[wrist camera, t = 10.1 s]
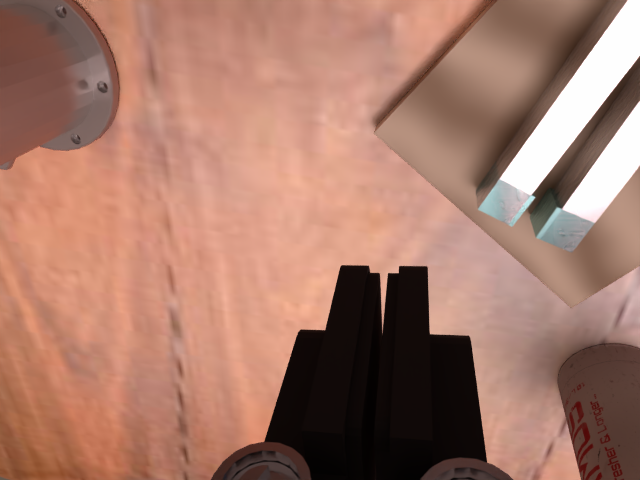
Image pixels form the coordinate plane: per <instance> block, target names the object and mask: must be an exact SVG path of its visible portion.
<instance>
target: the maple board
mask: <svg viewBox="0 0 640 480" xmlns="http://www.w3.org/2000/svg"><path fill="white" fill-rule="evenodd" d="M607 1H608V0H493V1H492V2H491V3H490V4H489V5H488V6H487V7H486V8H485V10H484V11H483V12H482V13H481V14H480V15H479V16H478V17H477V18H476V19H475V20H474V21H473V23H472V24H471V25H470V26H469V27H468V28H467V29H466V30H465V31H464V32H463V33H462V34H461V35H460V37H459V38H458V39H457V40H456V41H455V42H454V43H453V44H452V45H451V46H450V47H449V48H448V50H447V51H446V52H445V53H444V54H443V55H442V56H441V57H440V58H439V59H438V60H437V61H436V62H435V64H434V65H433V66H432V67H431V68H430V69H429V70H428V71H427V72H426V73H425V74H424V75H423V77H422V78H421V79H420V80H419V81H418V82H417V83H416V84H415V85H414V86H413V87H412V88H411V89H410V91H409V92H408V93H407V94H406V95H405V96H404V97H403V98H402V99H401V100H400V101H399V102H398V103H397V105H396V106H395V107H394V108H393V109H392V110H391V111H390V112H389V113H388V114H387V115H386V116H385V118H384V119H383V120H382V121H381V122H380V123H379V124H378V125H377V126H376V129H375V131H374V134H375V135H376V136H377V137H378V138H379V139H381V140H382V141H383V142H384V143H385V144H386V145H387V146H388V147H390V148H391V149H392V150H393V151H394V152H395V153H396V154H397V155H399V156H400V157H401V158H402V159H403V160H404V161H405V162H407V163H408V164H409V165H410V166H411V167H412V168H413V169H414V170H416V171H417V172H418V173H419V174H420V175H421V176H422V177H423V178H425V179H426V180H427V181H428V182H429V183H430V184H431V185H433V186H434V187H435V188H436V189H437V190H438V191H439V192H440V193H442V194H443V195H444V196H445V197H446V198H447V199H448V200H449V201H451V202H452V203H453V204H454V205H455V206H456V207H457V208H459V209H460V210H461V211H462V212H463V213H464V214H465V215H466V216H468V217H469V218H470V219H471V220H472V221H473V222H474V223H476V224H477V225H478V226H479V227H480V228H481V229H482V230H483V231H485V232H486V233H487V234H488V235H489V236H490V237H491V238H492V239H494V240H495V241H496V242H497V243H498V244H499V245H500V246H502V247H503V248H504V249H505V250H506V251H507V252H508V253H509V254H511V255H512V256H513V257H514V258H515V259H516V260H517V261H518V262H520V263H521V264H522V265H523V266H524V267H525V268H526V269H528V270H529V271H530V272H531V273H532V274H533V275H534V276H535V277H537V278H538V279H539V280H540V281H541V282H542V283H543V284H544V285H546V286H547V287H548V288H549V289H550V290H551V291H552V292H554V293H555V294H556V295H557V296H558V297H559V298H560V299H561V300H563V301H564V302H565V303H566V304H567V305H568V306H569V307H570V308H572V307H574V306H575V305H577V304H579V303H580V302H582V301H584V300H585V299H587V298H588V297H590V296H592V295H593V294H595V293H596V292H598V291H600V290H601V289H603V288H604V287H606V286H608V285H609V284H611V283H613V282H614V281H616V280H617V279H619V278H621V277H622V276H624V275H625V274H627V273H629V272H630V271H632V270H634V269H635V268H637V267H638V266H640V166H639V167H638V168H637V170H636V171H635V172H634V174H633V175H632V176H631V177H630V179H629V180H628V181H627V183H626V184H625V185H624V186H623V188H622V189H621V190H620V192H619V193H618V194H617V195H616V197H615V198H614V199H613V201H612V202H611V203H610V204H609V206H608V207H607V208H606V210H605V211H604V212H603V213H602V215H601V216H600V217H599V219H598V220H597V221H596V222H595V224H594V225H593V226H592V228H591V229H590V230H589V231H588V233H587V234H586V235H585V237H584V238H583V239H582V240H581V242H580V243H579V244H578V246H577V247H576V248H575V249H574V251H573V252H572V253H571V252H569V251H566V250H564V249H562V248H559V247H557V246H554V245H552V244H550V243H547V242H545V241H542V240H540V239H538V238H536V237H535V233H534V230H533V227H532V223H531V220H530V215H531V213H532V212H533V210H534V209H535V207H536V206H537V205H538V203H539V202H540V200H541V199H542V197H543V196H544V194H545V193H546V191H547V190H548V188H549V187H550V188H552V189H554V187H555V186H556V185H557V183H558V182H559V180H560V179H561V177H562V176H563V174H564V173H565V172H566V170H567V169H568V167H569V166H570V164H571V163H572V161H573V160H574V158H575V157H576V156H577V154H578V153H579V151H580V150H581V148H582V147H583V145H584V144H585V143H586V141H587V140H588V138H589V137H590V135H591V134H592V132H593V131H594V129H595V128H596V127H597V125H598V124H599V122H600V121H601V119H602V118H603V116H604V115H605V114H606V112H607V111H608V109H609V108H610V106H611V105H612V103H613V102H614V101H615V99H616V98H617V96H618V95H619V93H620V92H621V90H622V89H623V87H624V86H625V85H626V83H627V82H628V80H629V79H630V77H631V76H632V74H633V73H634V72H635V70H636V69H637V67H638V66H639V64H640V56H639V57H638V58H637V60H636V61H635V62H634V63H633V65H632V66H631V67H630V69H629V70H628V71H627V72H626V74H625V75H624V76H623V78H622V79H621V80H620V81H619V83H618V84H617V85H616V87H615V88H614V89H613V90H612V92H611V93H610V94H609V96H608V97H607V98H606V99H605V101H604V102H603V103H602V105H601V106H600V107H599V108H598V110H597V111H596V112H595V114H594V115H593V116H592V117H591V119H590V120H589V121H588V123H587V124H586V125H585V126H584V128H583V129H582V130H581V132H580V133H579V134H578V135H577V137H576V138H575V139H574V141H573V142H572V143H571V144H570V146H569V147H568V148H567V150H566V151H565V152H564V153H563V155H562V156H561V157H560V159H559V160H558V161H557V162H556V164H555V165H554V166H553V168H552V169H551V170H550V171H549V173H548V174H547V175H546V177H545V178H544V179H543V180H542V182H541V183H540V184H539V186H538V187H537V188H536V189H535V191H534V194H535V198H534V200H533V201H532V202H531V204H530V205H529V206H528V207H527V209H526V210H525V211H524V212H523V214H522V215H521V216H520V218H519V219H518V220H517V221H516V223H515V224H514V225H513V226H510V225H508V224H506V223H504V222H502V221H500V220H498V219H496V218H494V217H492V216H490V215H488V214H486V213H484V212H482V211H480V210H478V208H477V198H476V189H477V187H478V186H479V184H480V183H481V181H482V180H483V179H484V177H485V176H486V174H487V173H488V171H489V170H490V169H491V167H492V166H493V164H494V163H495V161H496V160H497V159H498V157H499V156H500V154H501V153H502V151H503V150H504V148H505V147H506V146H507V144H508V143H509V141H510V140H511V138H512V137H513V136H514V134H515V133H516V131H517V130H518V128H519V127H520V126H521V124H522V123H523V121H524V120H525V118H526V117H527V116H528V114H529V113H530V111H531V110H532V108H533V107H534V106H535V104H536V103H537V101H538V100H539V98H540V97H541V95H542V94H543V93H544V91H545V90H546V88H547V87H548V85H549V84H550V83H551V81H552V80H553V78H554V77H555V75H556V74H557V73H558V71H559V70H560V68H561V67H562V65H563V64H564V63H565V61H566V60H567V58H568V57H569V55H570V54H571V52H572V51H573V50H574V48H575V47H576V45H577V44H578V42H579V41H580V40H581V38H582V37H583V35H584V34H585V32H586V31H587V30H588V28H589V27H590V25H591V24H592V22H593V21H594V20H595V18H596V17H597V15H598V14H599V12H600V11H601V9H602V8H603V7H604V5H605V4H606V2H607Z"/></svg>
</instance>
